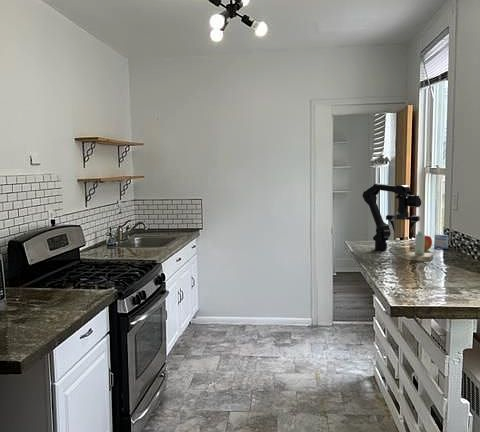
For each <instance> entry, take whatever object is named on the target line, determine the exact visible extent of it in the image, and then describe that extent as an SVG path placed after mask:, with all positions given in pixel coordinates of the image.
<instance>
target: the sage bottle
mask: <svg viewBox="0 0 480 432" xmlns="http://www.w3.org/2000/svg"><path fill="white" fill-rule="evenodd" d="M423 233H424V231H423V230H422V231H421V230H418V231H417V233H416V234H415V239H414V246H415V247H414V252H415V254H416V255H424V253H425V251H424V246H425V236H426V235H425V234H423Z"/></svg>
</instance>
